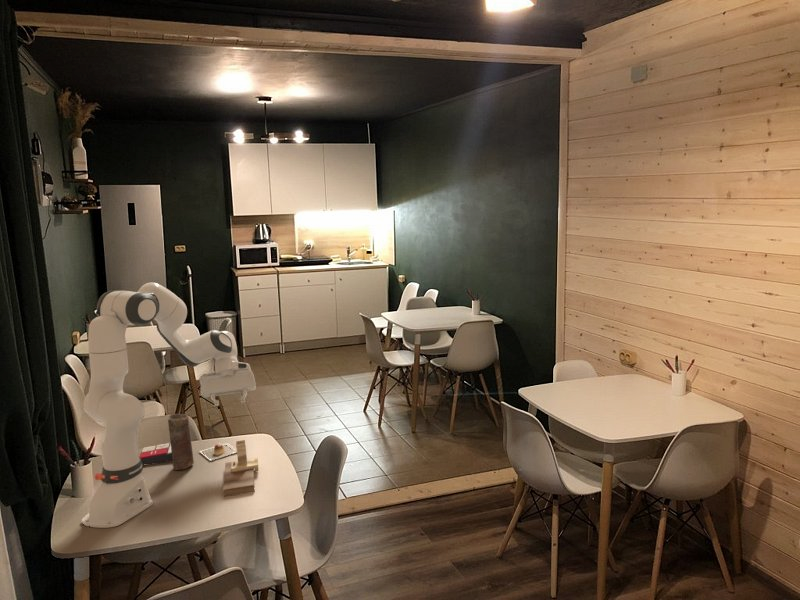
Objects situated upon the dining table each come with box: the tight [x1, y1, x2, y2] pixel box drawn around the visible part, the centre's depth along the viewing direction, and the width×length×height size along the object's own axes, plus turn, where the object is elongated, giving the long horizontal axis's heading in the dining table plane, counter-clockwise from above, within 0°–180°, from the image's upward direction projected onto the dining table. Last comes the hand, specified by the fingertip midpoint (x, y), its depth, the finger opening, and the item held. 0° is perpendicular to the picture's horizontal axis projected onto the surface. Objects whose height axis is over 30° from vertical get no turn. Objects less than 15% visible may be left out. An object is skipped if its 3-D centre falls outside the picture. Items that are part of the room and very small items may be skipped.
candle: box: [167, 413, 195, 471], centre depth 235 cm, size 8×7×20 cm
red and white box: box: [139, 442, 173, 466], centre depth 246 cm, size 11×4×15 cm
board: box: [222, 458, 256, 497], centre depth 223 cm, size 22×10×2 cm, turn 13°
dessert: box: [199, 442, 237, 462], centre depth 247 cm, size 12×12×5 cm
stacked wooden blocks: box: [231, 439, 259, 473], centre depth 227 cm, size 6×9×10 cm, turn 103°
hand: (229, 403), depth 234 cm, fingers open, 8 cm apart
